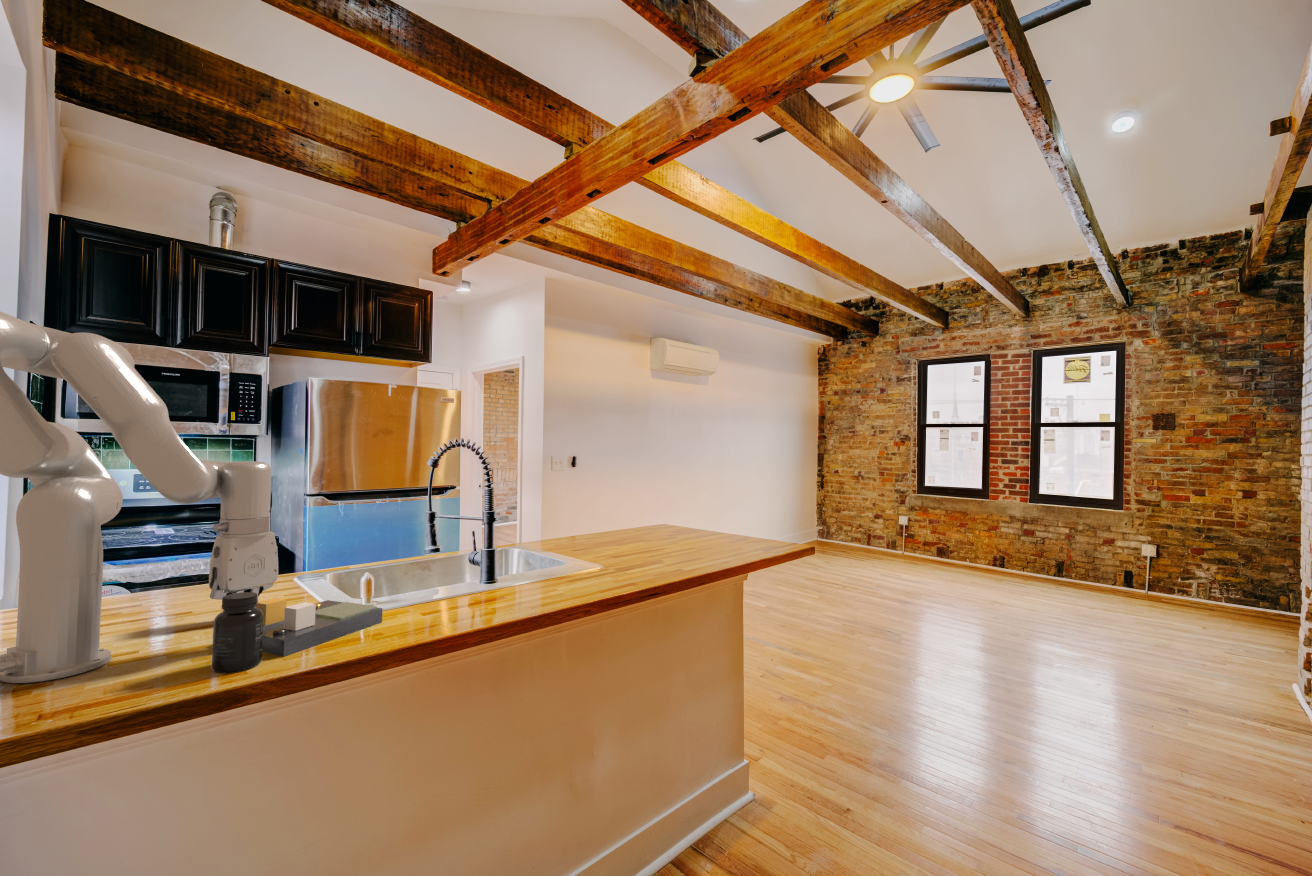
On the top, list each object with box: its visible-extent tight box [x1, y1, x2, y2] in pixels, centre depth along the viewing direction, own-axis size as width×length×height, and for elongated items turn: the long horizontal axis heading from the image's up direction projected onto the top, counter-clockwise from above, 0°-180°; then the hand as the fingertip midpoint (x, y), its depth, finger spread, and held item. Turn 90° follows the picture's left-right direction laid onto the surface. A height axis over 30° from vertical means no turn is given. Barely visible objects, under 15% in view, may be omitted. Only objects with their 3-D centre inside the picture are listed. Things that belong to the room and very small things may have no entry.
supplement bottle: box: [211, 592, 263, 674], centre depth 95 cm, size 7×7×12 cm
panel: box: [262, 599, 383, 658], centre depth 113 cm, size 22×16×4 cm
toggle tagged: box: [255, 597, 287, 625], centre depth 109 cm, size 4×3×4 cm
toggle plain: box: [284, 601, 316, 631], centre depth 107 cm, size 4×3×4 cm
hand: (241, 624), depth 104 cm, fingers closed
